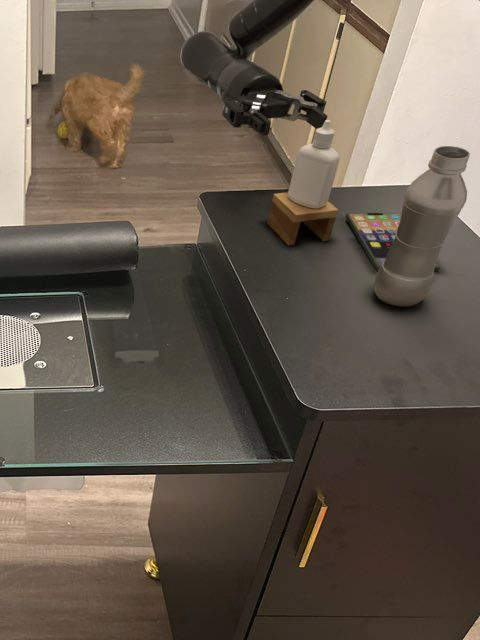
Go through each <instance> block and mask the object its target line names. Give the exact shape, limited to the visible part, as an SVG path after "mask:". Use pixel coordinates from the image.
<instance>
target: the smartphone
mask: <svg viewBox="0 0 480 640" xmlns="http://www.w3.org/2000/svg"><path fill="white" fill-rule="evenodd" d="M401 213H402V212H391V213H390V212H389V213H388V212H385V213H383V212H367V213H364V212H363V213H358V212H357V213H346V214H345V220H346V221H347V223H348V224H349V226H350V227H351V229H352V231H353V233H354V234H355V236H356V238H357V239H358V242H359V243H360V245H361V246H362V248H363V250H364V252H365V253H366V255H367V257H368V259H369V260H370V261H371V263H372V265H373V267H374V269H375V270H376V272H378V270H379V268H380V266H381V265H382V263H383V262H384V261H385V259H386V257H387V255H388V252H389V250H390V248H391V246H392V244H393V242H394V239H395V236H396V233H397V229H398V226H399V222H400V218H401ZM439 271H440V265H439V263H437V262H436V265H435V268H434V272H439Z"/></svg>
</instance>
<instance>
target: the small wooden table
mask: <svg viewBox="0 0 480 640" xmlns="http://www.w3.org/2000/svg"><path fill="white" fill-rule="evenodd" d="M338 213H339V209H338V208H337V207H335V206H334V205H333V204H332V203H331V202H330V201H328V203H327V204H326V205H325V206H323V207H321V208H318V209H314V208H309V207H305V206H302V205H299V204H297V203H295V202H293V201H292V200H290V199H289V198H288V191H287V192H280V193H273V197H272V201H271V205H270V209H269V214H268V218H267V223H266V224H267V225H268V226H269V228H271V229H272V230H273V231H274V232H275V234H277V235H278V237H279V238H280V239H281V240H282V241H283V242H284V243H285V244H286V245H287V246H294V245H296V240H297V236H298V233H299V229H300V225H301V222H302V223H303V224H304V225H305V226H306V228H308V229H309V230H310V231H312V232H313V233H314V235H315V236H317V237H318V238H319V239H320V240H321V241H322V242H327V241H330V239H331V235H332V232H333V229H334V227H335V222H336V220H337V216H338Z"/></svg>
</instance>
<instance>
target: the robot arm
mask: <svg viewBox="0 0 480 640" xmlns="http://www.w3.org/2000/svg"><path fill="white" fill-rule="evenodd" d="M315 1H316V0H251V1H250V2H248V3H247V4H246V5H245V6H243V7H242V8H241V9H240V10H238V11H237V12H236V13H235V14H234V15H232V17H231V18H230V19H229V21H228V27H227V30H228V33H229V35H230V38H231V40H232V41H233V44H232V45H230V46H228V45H227V44H226V43H225V42H223V40H222V39H220V38H219V37H218V36H217V35H216V34H215V33H213V32H211V31H209V30H201V31H197V32H195V33H193V34H192V35H190V36H189V37H188V38H187V39H186V40H185V41H184V43H183V45H182V47H181V50H180V63H181V64H182V67H183V68H185V70H186V71H187V72H189V73H190V74H191V75H192V76H193V77H195V78H196V79H197V80H198V81H199V82H200V83H201V84H202V85H204V86H205V87H207V88H209V89H210V90H211V91H212V92H213V93H214V94H215V95H216V96H217V97H218V98H220V100H221V101H222V102H223V107H222V114H221V116H223V118H224V119H225V120H226V121H227V122H228V123H229V124H230V125H231V126H232V127H233V128H236V129H238V128H241V127H242V126H243V125H245V127H246V128H248V129H252V130H254V131H255V133H258V134H259V135H261V136H263V137H264V136H268V135H269V134H270V130H271V125H272V122H271V120H270V119H274V120H275V119H276V120H277V119H281V120H286V121H290V122H295V121H297V120H301V121H305V122H306V123H308V124H309V125H310V126H311V127H313V128H314V129H315V130H316V129H318V128H321V127H322V126H323V124H324V122H325V120H328V115H327V114H326V113H325V108H326V105H327V101H326V100H325V99H323V98H322V97H320V96H318V95H316V94H314V93H313V92H311V91H310V90H307V89H303V90H301V91H300V94H299V95H295V94H291V93H289V92H286V91H284V87H283V85H282V83H281V81H280V79H279V78H278V77H277V76H276V75H274V74H272V73H271V72H270V71H268V70H267V69H265V68H264V67H262V66H260V65H259V64H258V63H256V62H254V61H250V60H249V59H250V58H251V57H252V55H254V53H255V52H256V51H257V50H258V49H259V48H261V46H263V45H264V44H266V43H267V42H269V41H270V40H271V39H273V38H274V37H275V36H276V35H278V34H279V33H281V32H283V30H284V29H286V28H288V27H289V26H290V25H291V24H292V23H293V22H294V21H296V20H297V19H298V18H299V17H300V16H301V15H302V14H303V13H304V12H305V11H306V10H307V9H308V8H309V7H310V6H311V5H312V4H313V3H314V2H315ZM478 1H479V2H480V0H478ZM292 106H293V109H292ZM291 109H292V114H291V113H289V112H290V110H291ZM302 111H303V112H304V113H302Z"/></svg>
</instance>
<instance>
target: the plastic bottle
mask: <svg viewBox="0 0 480 640" xmlns="http://www.w3.org/2000/svg"><path fill="white" fill-rule="evenodd" d="M470 155H471V153H470V151H468V149H465V148H462V147H459V146H453V145H443V146H438V147H436V148H434V150H433V152H432V156H431V159H429V161H428V164H427V166H428V169H427V170H426V171H425V172H423V173H422V174H420V175H419V176H417V177H416V178H415V179H414V180H412V182H411V183H410V184H409V186H408V187H407V188H406V191H405V194H404V198H403V204H402V209H401V212H400V213H401V218H400V222H399V226H398V229H397V233H396V236H395V239H394V242H393V244H392V246H391V248H390V250H389V252H388V255H387V257H386V259H385V261H384V262H383V263H382V265H381V266H380V268H379V270H378V271H376V274H375V277H374V281H373V290H374V292H375V293H374V294H375V295H376V297H377V298H378V299H379V300H380V301H382V302H383V303H385V304H388V305H391V306H395V307H412V306H415V305H417V304H418V303H420V302H422V301H423V300H424V299H426V296H427V295H428V293H429V292H430V290H431V288H432V284H433V279H434V275H435V271H434V268H435V265H436V263H437V262H438V258H439V255H440V252H441V249H442V248H443V245H444V242H445V240H446V238H447V236H448V235H449V233H450V231H451V228H452V226H453V225H454V223H455V221H456V220H457V219H458V217H459V215H460V214H461V212H462V210H463V208H464V206H465V204H466V203H467V200H468V189H467V186H466V183H465V180H464V178H463V175H462V173H465V171H466V170H467V164H468V162H469V159H470Z"/></svg>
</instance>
